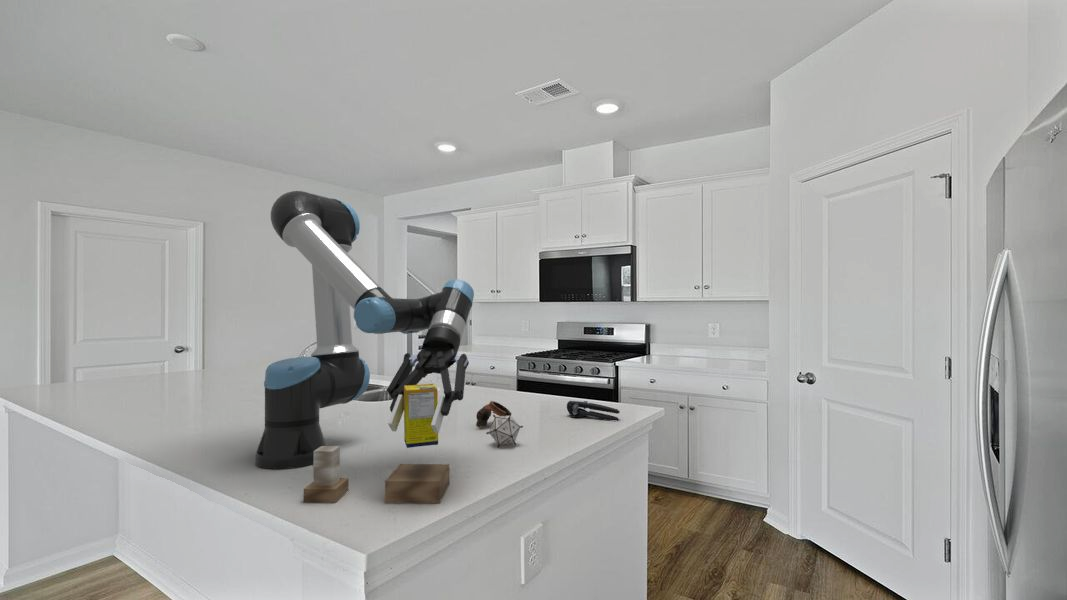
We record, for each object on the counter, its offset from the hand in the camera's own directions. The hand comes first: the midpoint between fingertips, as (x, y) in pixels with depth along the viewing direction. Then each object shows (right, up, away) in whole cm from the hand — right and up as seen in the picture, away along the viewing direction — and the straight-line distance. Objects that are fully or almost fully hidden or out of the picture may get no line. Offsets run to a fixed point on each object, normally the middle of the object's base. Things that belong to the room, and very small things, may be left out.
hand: (413, 428), depth 94 cm
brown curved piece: (+10, -14, +58) cm, 61 cm away
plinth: (0, -13, +3) cm, 14 cm away
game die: (+15, -14, +37) cm, 42 cm away
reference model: (-17, -13, +2) cm, 21 cm away
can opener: (+41, -15, +69) cm, 82 cm away
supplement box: (+1, -4, +3) cm, 5 cm away
